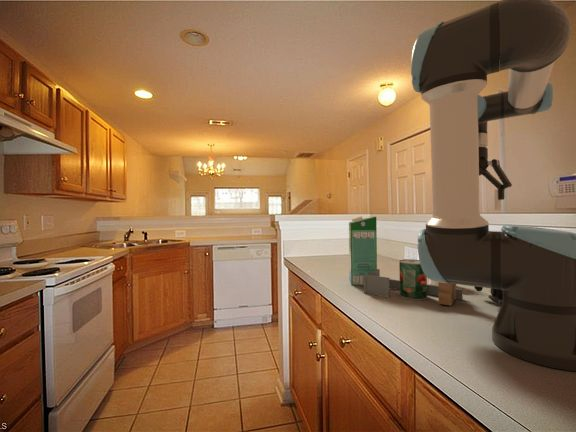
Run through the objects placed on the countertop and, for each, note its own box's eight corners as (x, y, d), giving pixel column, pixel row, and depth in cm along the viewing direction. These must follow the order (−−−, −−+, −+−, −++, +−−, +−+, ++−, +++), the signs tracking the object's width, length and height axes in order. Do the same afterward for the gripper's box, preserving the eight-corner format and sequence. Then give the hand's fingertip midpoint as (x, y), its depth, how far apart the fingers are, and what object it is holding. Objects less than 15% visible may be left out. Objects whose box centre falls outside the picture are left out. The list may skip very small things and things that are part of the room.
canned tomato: (430, 301, 82) (429, 263, 82) (401, 299, 84) (401, 263, 84) (423, 293, 90) (423, 259, 90) (397, 292, 92) (397, 258, 92)
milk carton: (349, 279, 110) (348, 216, 110) (372, 279, 109) (372, 216, 108) (351, 285, 101) (350, 216, 101) (377, 285, 100) (376, 216, 99)
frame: (456, 310, 74) (456, 287, 74) (364, 293, 91) (363, 274, 91) (462, 299, 84) (462, 279, 84) (378, 285, 100) (377, 269, 100)
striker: (450, 305, 76) (450, 240, 76) (438, 303, 78) (438, 239, 78) (456, 297, 83) (455, 237, 83) (444, 295, 85) (444, 237, 85)
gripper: (524, 141, 86) (524, 210, 86) (443, 156, 108) (443, 211, 107) (514, 138, 82) (514, 209, 82) (432, 154, 104) (432, 211, 103)
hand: (474, 210), depth 95 cm, fingers open, 13 cm apart
